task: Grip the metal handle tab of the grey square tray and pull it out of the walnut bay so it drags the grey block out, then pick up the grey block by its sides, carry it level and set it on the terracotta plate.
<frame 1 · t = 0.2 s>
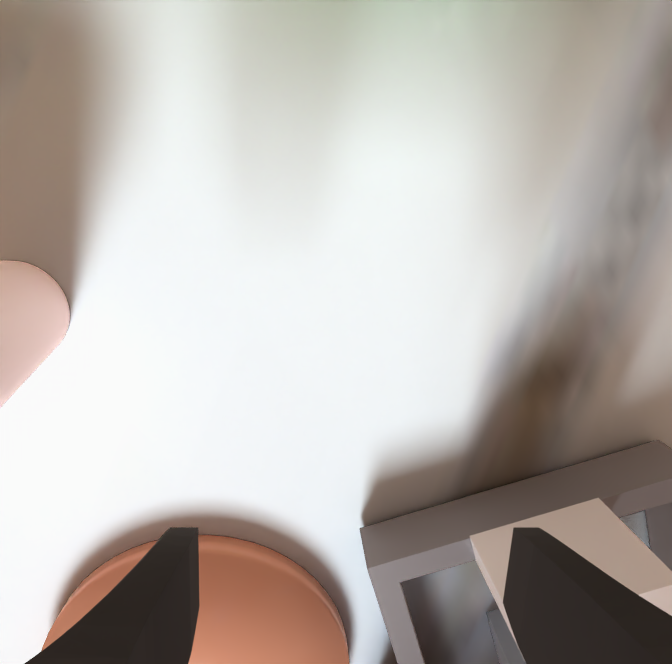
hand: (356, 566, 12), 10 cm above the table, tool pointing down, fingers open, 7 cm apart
grey block: (541, 635, 25), resting in grey square tray
smoothie: (20, 310, 20), on the table
plate: (202, 662, 24), on the table
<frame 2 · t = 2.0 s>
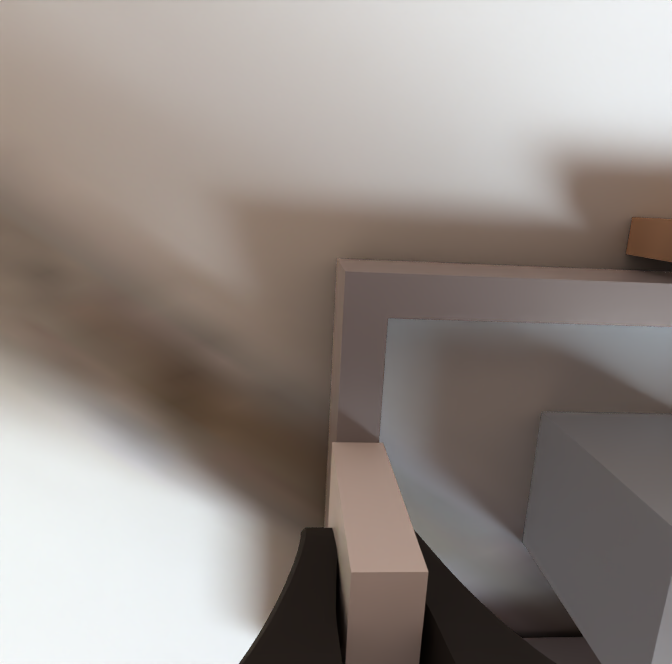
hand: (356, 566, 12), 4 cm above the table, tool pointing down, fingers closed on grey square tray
grey square tray: (604, 561, 13), point 4 cm above the table, slide at 0.0 cm, touching gripper
grey block: (600, 478, 17), resting in grey square tray
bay: (538, 479, 16), on the table
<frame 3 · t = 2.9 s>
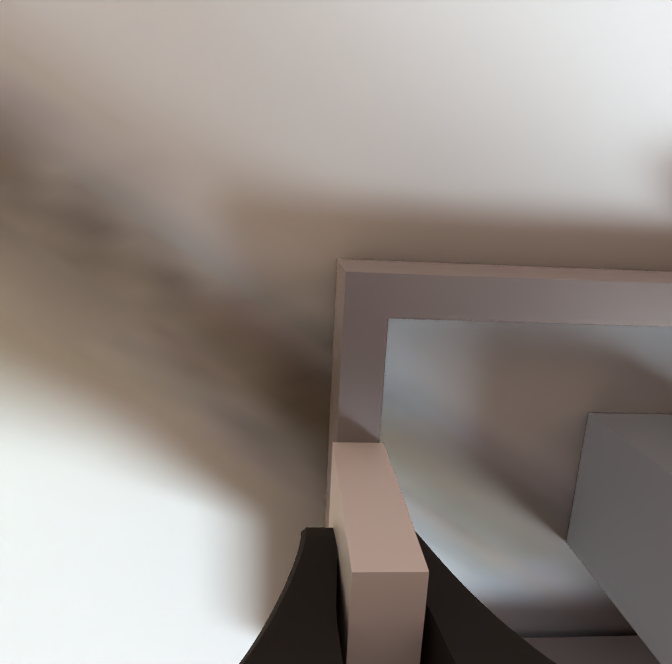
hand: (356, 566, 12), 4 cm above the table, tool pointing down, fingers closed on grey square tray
grey square tray: (604, 561, 13), point 4 cm above the table, slide at 3.3 cm, touching grey block, gripper
grey block: (645, 480, 17), resting in grey square tray
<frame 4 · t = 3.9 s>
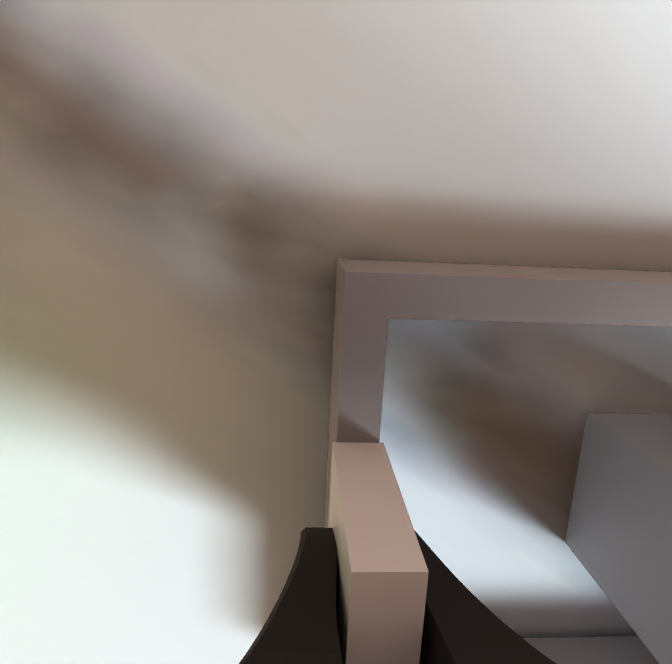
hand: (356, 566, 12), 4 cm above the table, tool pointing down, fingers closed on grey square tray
grey square tray: (604, 561, 13), point 4 cm above the table, slide at 7.5 cm, touching gripper
grey block: (643, 479, 17), resting in grey square tray
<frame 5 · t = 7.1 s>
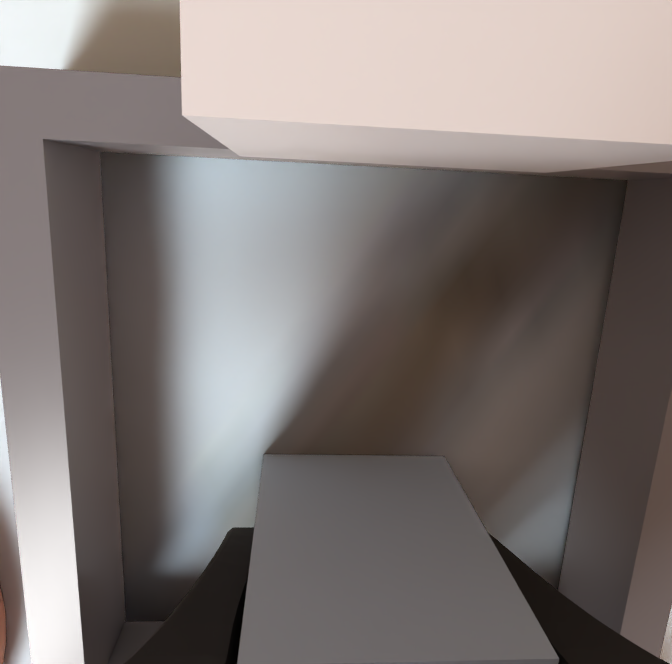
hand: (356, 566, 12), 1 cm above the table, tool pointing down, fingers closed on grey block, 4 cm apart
grey square tray: (383, 490, 9), point 4 cm above the table, slide at 7.5 cm
grey block: (350, 534, 14), resting in grey square tray, touching gripper
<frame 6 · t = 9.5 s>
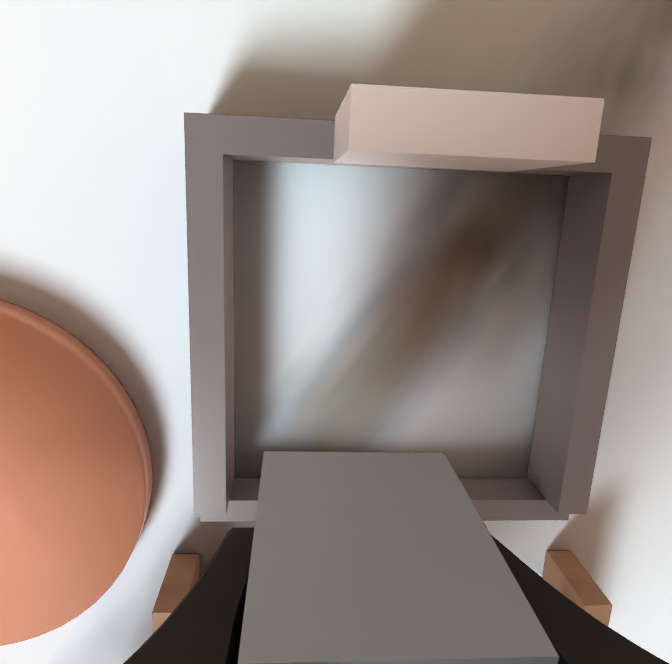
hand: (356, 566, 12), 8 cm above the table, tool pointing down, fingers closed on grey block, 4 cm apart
grey square tray: (415, 359, 15), point 4 cm above the table, slide at 7.5 cm
grey block: (350, 531, 14), point 6 cm above the table, touching gripper
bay: (379, 518, 21), on the table
when the fingers open (4 cm above the table, at t = 12.0 s): grey block drops 1 cm, resting on plate.
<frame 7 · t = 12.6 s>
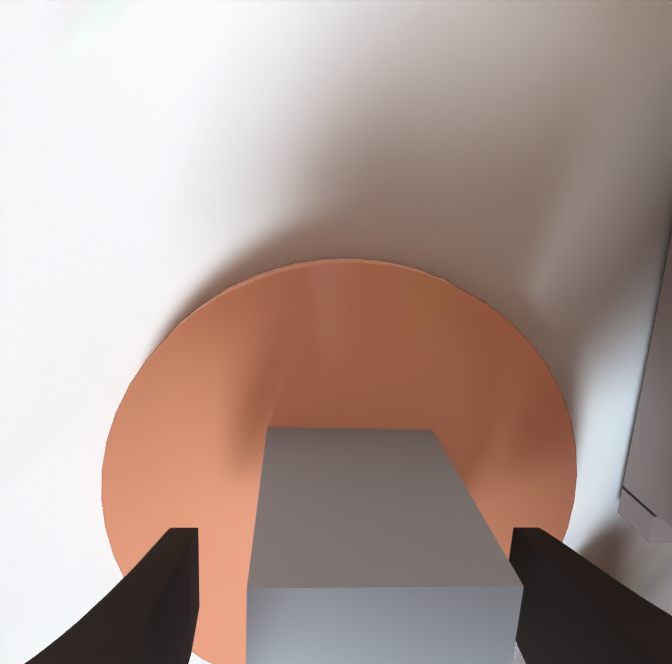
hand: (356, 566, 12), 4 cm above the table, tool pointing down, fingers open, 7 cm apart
grey block: (346, 502, 15), point 1 cm above the table, touching plate
plate: (342, 478, 16), on the table
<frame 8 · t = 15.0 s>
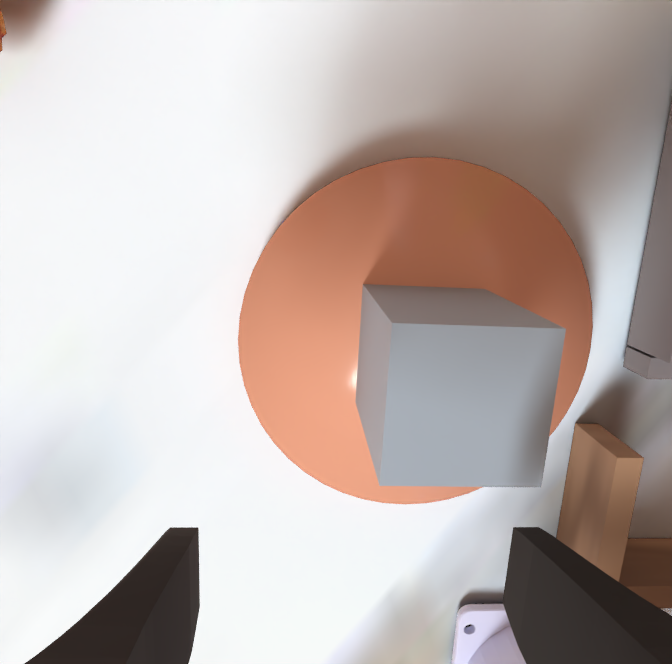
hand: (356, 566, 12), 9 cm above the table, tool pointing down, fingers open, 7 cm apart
grey block: (419, 346, 20), point 1 cm above the table, touching plate
plate: (412, 336, 21), on the table
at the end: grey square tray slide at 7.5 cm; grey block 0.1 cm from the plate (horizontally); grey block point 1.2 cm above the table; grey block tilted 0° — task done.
